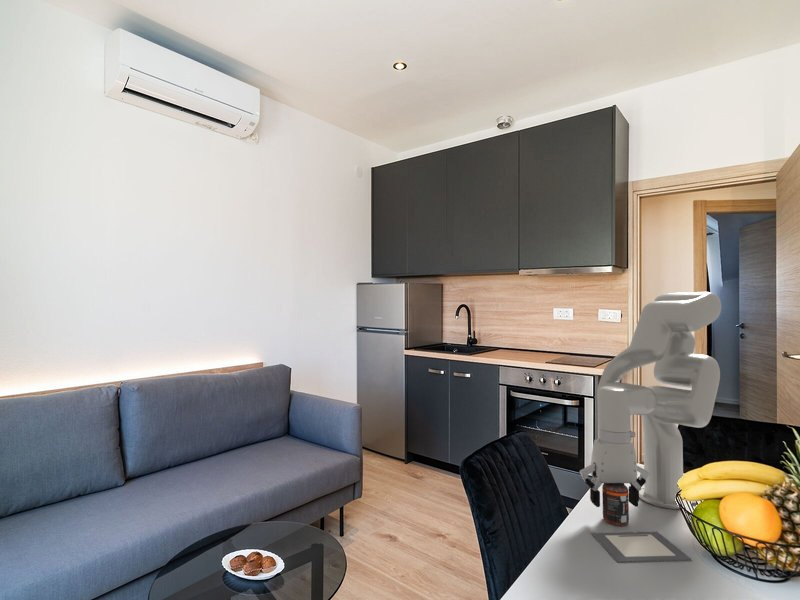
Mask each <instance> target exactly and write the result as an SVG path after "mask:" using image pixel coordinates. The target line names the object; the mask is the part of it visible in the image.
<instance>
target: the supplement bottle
mask: <svg viewBox="0 0 800 600" xmlns="http://www.w3.org/2000/svg"><path fill="white" fill-rule="evenodd" d="M601 486H602V489H601V491H602V494H601V495H602V519H603V520H604V521H605V522H606V523H607V524H609V525H612V526H615V527H616V526H617V527H624V526H627V525H629V520H630V510H629V509H630V508H629V503H630V502H629V487H627V486H626V484H625V483H602V485H601Z"/></svg>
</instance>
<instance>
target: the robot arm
mask: <svg viewBox="0 0 800 600" xmlns="http://www.w3.org/2000/svg"><path fill="white" fill-rule="evenodd" d="M721 311H722V302H721V299H720V297H718V295H717V294H715V293H713V292H711V291H710V292H709V291H697V292H694V291H693V292H691V291H689V292H670V293H663V294H660V295H658V296H656V297H655V298H654V301H651V302H649V303H647V304H645V305H644V306H643V308H642V310H641V313H640V315H639V318H638V321H637V324H636V327H635V329H634V332H633V336H632V338H631V342H630V344H629V345H628V347H626V348H625V349H623V351H621V352H620V353H618V354H617V355H615V356H614V357H613V358H612V359H611V360H610V361H609V362H608V363H607V364H606V365H605V367H604V369H603V371H602V374H601V377H600V379H599V382H598V385H597V390H596V391H597V392H596V398H597V439H596V438H595V439H594V441H593V445H592V450H591V456H590V457H591V458H590V459H591V460H590V464H589V465H588V466H586V467H584V468H582V469H580V470H579V474H580V476H581V478H582V480H583V482H584V483H585V484H586V485H587V486H588V487H589V491H590V493H589V495H590V496H589V500H590V502H591V503H592V504H593V505H594V506H595V507H596V508H599V507H600V506H601V492H600V490H599V489H600V487H601V486H603V484H604V483H624V484H629V486H628V502H629V503H630V504H631V505H632V506H633V507H635V508H639V502H640V499H641V500H642V501H643V502H646V503H648V504H650V505H652V506H656V507H659V508H664V509H671V510H672V509H673V510H674V509H675V510H678V509H679V507H678V505H677V503H676V501H675V494H676V493H677V492H679V491H680V489H679V488H678V486H677V482H678V480H679V479H680V478H681V477H682V476H683V477H684V458H683V457H684V455H683V450H684V449H683V448H684V447H683V445H684V444H683V443H684V442H683V437H682V435H681V431H680V430H679V428H678V427H677V426H676V425H680V426H681V425H682V426H686V427H692V428H698V429H699V428H704V427H706V426H707V425H708V424H709V423H710V421H711V419H712V415H713V412H714V408H715V403H716V399H717V394H718V391H719V390H718V389H719V386H720V379H721V370H720V366H719V362H718V361H717V360H716V359H715V358H714V357H713V356H709V355H707V354H699V353H694V352H695V346H696V338H695V336H694V335H693V333H692V332H697V331H699V330H701V329H703V328H705V327H707V326H709V325H710V324H713V323H714V322H715V321H716V320H717V319H718V318H719V316H720V315H721ZM653 363H654V368H653V376H654V378H655V380H656V381H657V382H659V383H660V384H663V385H664V384H665V385H668V386H663V385H651V386H650V385H649V386H645V385H640V384H632V383H626V382H621V380H622V378H623V377H624V376H625V375H627V374H628V373H629V372H630V371H633V370H635V369H638V368H641V367H644V366H648V365H650V364H653ZM670 386H671V387H670ZM672 386H674V387H672ZM676 387H682V388H676ZM683 388H687V389H683ZM688 388H690V389H688ZM633 415H635V416H641V423H642V435H643V436H642V437H643V438H642V439H643V441H642V442H643V467H641V466H639V465H638V464H637V455H636V451H635V446H634V443H633V442H632V438H635V437H636V432H635V431H632V430H631V429H632V426H631V416H633ZM638 473H639V476H638ZM589 475H590V476H592V478H591V479H590V478H589ZM679 510H680V509H679Z"/></svg>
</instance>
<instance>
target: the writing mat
mask: <svg viewBox="0 0 800 600" xmlns="http://www.w3.org/2000/svg"><path fill="white" fill-rule="evenodd" d="M591 535H592V537H593V538H594V539H595V540H596V541H597V543H599V544H600V545H601V546H602V547H603V548H604V549H605V551H606V552H608V554H609V555H610V556H611V558H613V559H614V560H615V561H616V562H617V563H621V564H623V563H651V562H652V563H653V562H655V563H656V562H657V563H658V562H659V563H661V562H692V560H693V559H692V558H690V556H688V555H687V554H686V553H685V552H683V551H682V550H681V549H680V548H678V547H677V546H676V545H675V544H674V543H672V542H671V541H670V540H668V539H667V538H666V537H665V536H663V535H662V534H661V533H660V532H659V531H657V530H656V531H621V532H620V531H619V532H618V531H615V532H614V531H613V532H591Z"/></svg>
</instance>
